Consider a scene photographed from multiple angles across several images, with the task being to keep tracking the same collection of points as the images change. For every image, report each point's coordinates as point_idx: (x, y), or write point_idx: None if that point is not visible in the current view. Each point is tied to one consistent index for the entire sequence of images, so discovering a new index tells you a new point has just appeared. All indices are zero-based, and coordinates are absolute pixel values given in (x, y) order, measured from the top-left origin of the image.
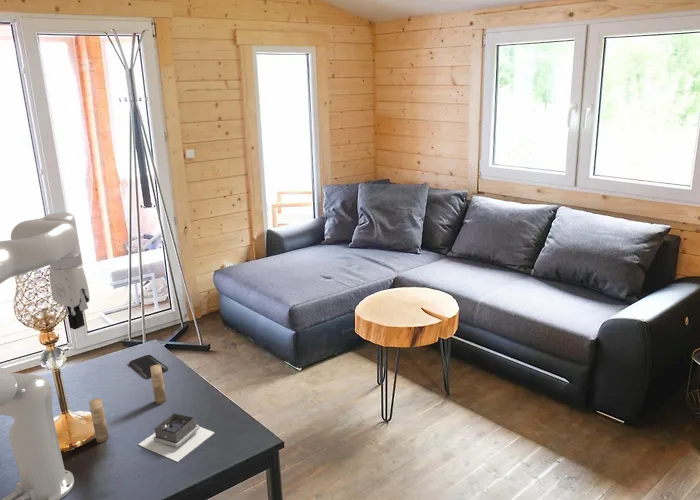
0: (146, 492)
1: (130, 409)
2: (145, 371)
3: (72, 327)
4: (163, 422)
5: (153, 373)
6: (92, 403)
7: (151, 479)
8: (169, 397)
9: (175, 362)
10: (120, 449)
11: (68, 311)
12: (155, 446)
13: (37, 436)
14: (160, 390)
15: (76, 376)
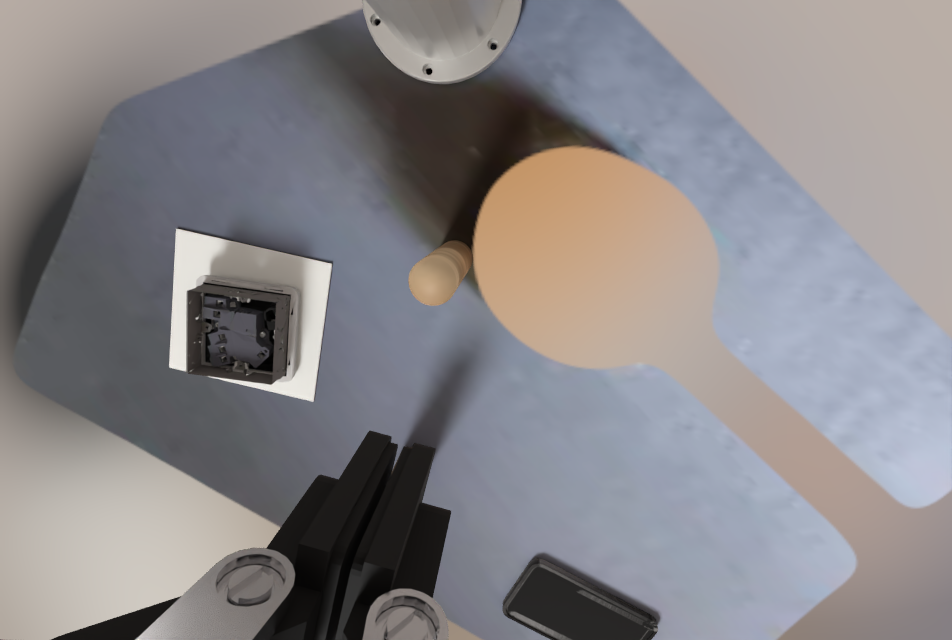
0: (167, 92)
1: (477, 406)
2: (565, 587)
3: (382, 442)
4: (274, 339)
5: None
6: (434, 266)
7: (192, 143)
8: None
9: None
10: (367, 231)
11: (366, 628)
12: (277, 269)
13: None
14: None
15: (794, 526)
